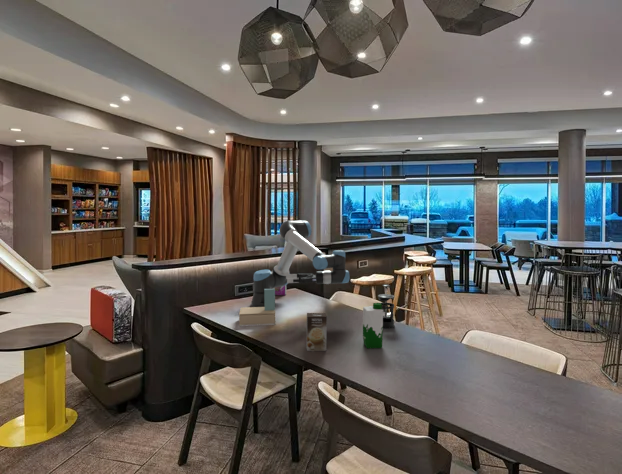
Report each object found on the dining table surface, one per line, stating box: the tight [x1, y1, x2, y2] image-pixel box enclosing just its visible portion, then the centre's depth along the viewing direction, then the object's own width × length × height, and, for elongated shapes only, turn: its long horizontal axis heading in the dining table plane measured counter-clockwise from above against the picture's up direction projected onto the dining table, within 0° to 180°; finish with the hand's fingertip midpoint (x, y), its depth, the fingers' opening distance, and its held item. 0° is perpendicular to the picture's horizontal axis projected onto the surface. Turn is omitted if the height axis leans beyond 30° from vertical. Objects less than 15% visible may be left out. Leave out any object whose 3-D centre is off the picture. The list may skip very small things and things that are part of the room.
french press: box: [377, 284, 395, 329], centre depth 202 cm, size 12×9×23 cm
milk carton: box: [362, 302, 384, 349], centre depth 172 cm, size 9×9×20 cm
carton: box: [238, 313, 276, 327], centre depth 211 cm, size 20×14×6 cm
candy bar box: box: [271, 285, 287, 296], centre depth 280 cm, size 11×5×16 cm, turn 84°
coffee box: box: [305, 312, 328, 352], centre depth 168 cm, size 9×6×16 cm
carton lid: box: [238, 289, 276, 316], centre depth 210 cm, size 20×14×12 cm
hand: (286, 278), depth 211 cm, fingers open, 13 cm apart
